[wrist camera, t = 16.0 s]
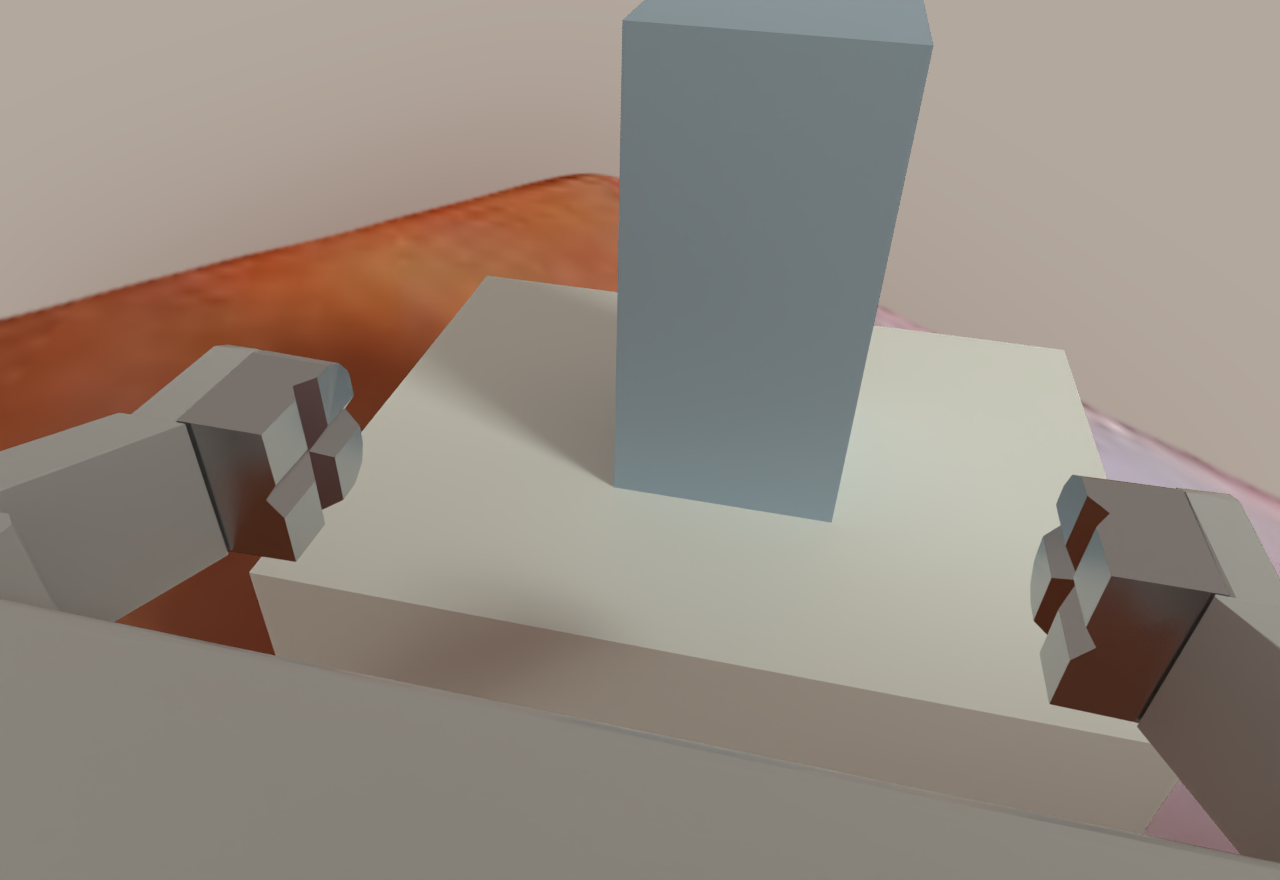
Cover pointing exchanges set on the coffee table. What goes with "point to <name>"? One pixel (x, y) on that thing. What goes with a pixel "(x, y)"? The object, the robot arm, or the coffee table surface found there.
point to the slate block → (756, 238)
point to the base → (723, 566)
